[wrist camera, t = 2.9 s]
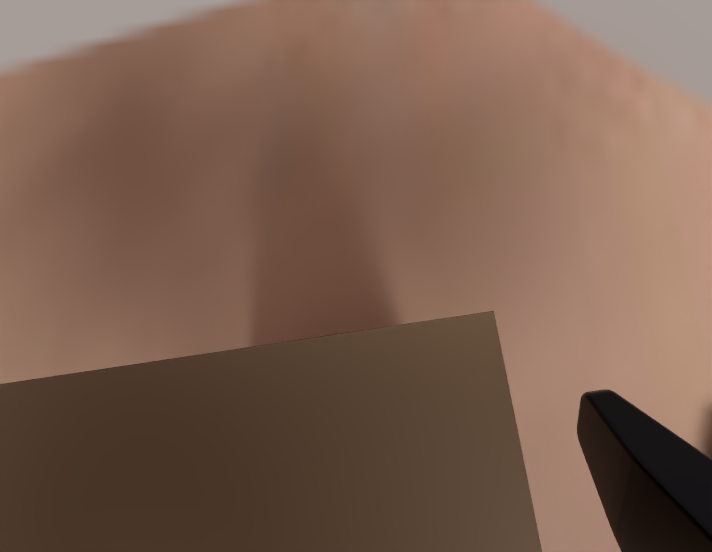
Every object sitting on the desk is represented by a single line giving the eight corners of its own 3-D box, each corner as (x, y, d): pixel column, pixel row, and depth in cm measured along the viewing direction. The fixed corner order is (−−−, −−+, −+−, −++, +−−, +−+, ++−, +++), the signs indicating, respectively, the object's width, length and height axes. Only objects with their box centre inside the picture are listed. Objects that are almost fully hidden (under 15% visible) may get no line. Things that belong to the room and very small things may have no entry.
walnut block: (448, 550, 14) (637, 1020, 4) (266, 575, 14) (-69, 1106, 4) (417, 366, 15) (493, 311, 5) (249, 390, 16) (-51, 392, 5)
